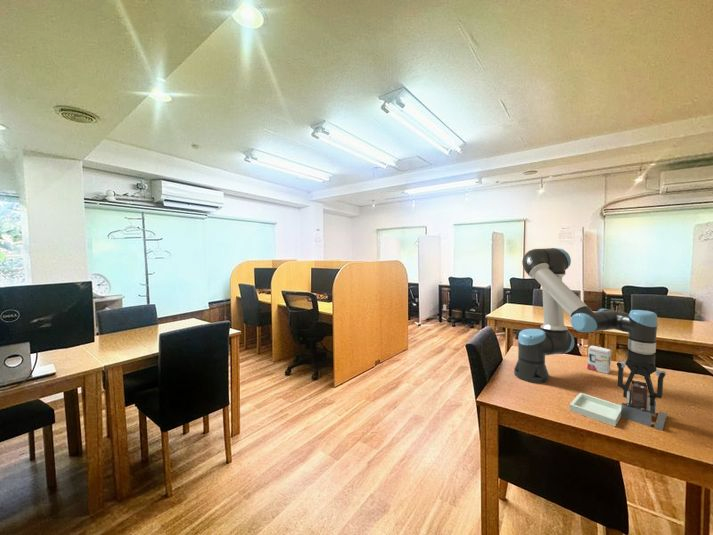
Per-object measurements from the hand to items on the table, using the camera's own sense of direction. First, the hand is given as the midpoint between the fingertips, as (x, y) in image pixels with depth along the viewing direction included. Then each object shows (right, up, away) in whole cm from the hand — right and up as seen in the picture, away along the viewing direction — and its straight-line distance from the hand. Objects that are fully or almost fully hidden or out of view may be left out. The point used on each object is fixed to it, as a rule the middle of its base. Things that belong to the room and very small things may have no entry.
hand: (637, 409), depth 112 cm
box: (0, -2, 0) cm, 2 cm away
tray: (-14, -2, +3) cm, 14 cm away
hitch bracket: (+1, -2, -1) cm, 3 cm away
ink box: (+18, +1, +39) cm, 43 cm away
